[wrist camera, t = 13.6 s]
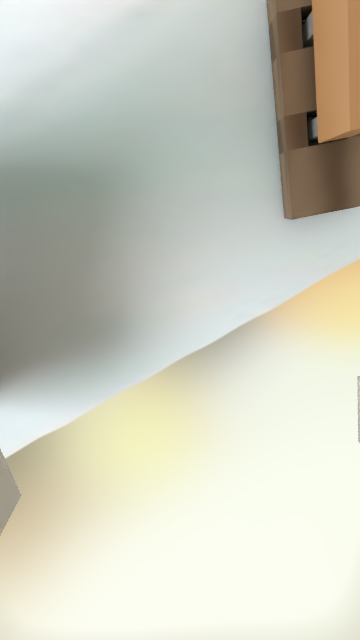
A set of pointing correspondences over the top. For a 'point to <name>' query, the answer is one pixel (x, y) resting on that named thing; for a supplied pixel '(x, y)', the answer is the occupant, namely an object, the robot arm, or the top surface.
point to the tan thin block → (335, 68)
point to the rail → (291, 114)
